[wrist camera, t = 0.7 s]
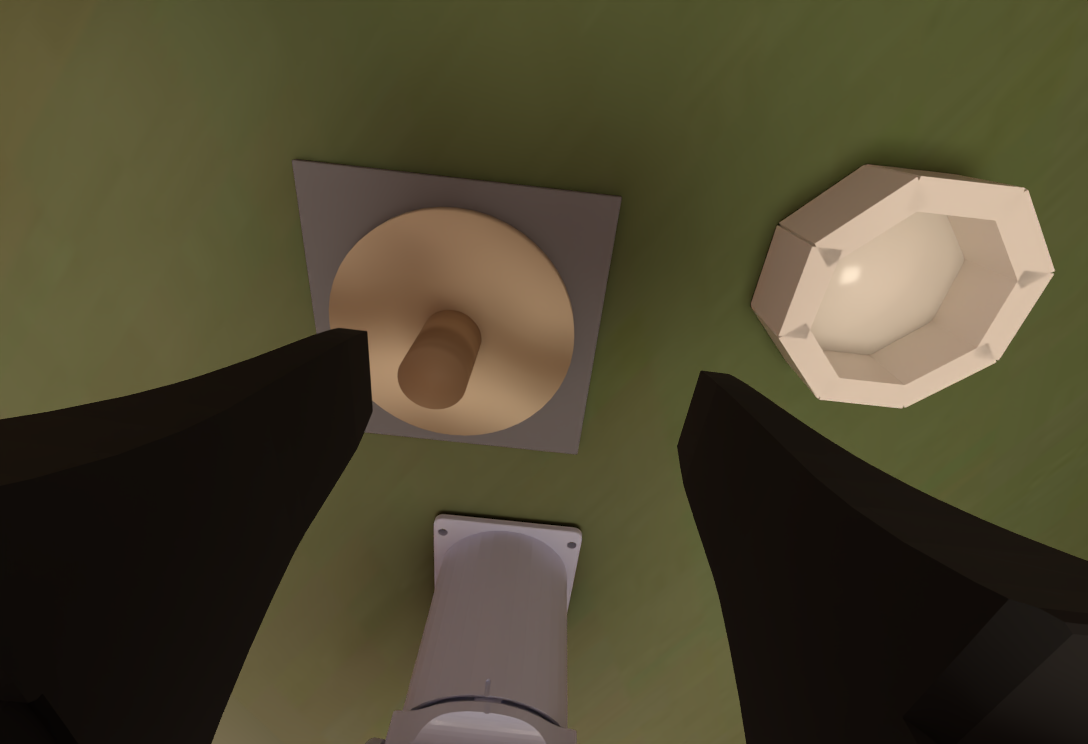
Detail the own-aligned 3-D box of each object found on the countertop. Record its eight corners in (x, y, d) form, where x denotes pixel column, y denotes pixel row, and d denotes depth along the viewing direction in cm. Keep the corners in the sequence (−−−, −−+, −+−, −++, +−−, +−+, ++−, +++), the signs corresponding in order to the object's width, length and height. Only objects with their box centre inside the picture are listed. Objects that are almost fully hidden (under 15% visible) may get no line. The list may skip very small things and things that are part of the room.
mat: (577, 450, 24) (577, 454, 24) (332, 425, 24) (330, 428, 23) (620, 196, 18) (621, 197, 18) (295, 159, 18) (291, 160, 18)
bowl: (914, 375, 21) (963, 415, 19) (733, 356, 21) (757, 392, 18) (1022, 182, 17) (1103, 197, 15) (799, 156, 17) (842, 166, 14)
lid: (559, 435, 23) (558, 500, 19) (349, 413, 23) (307, 475, 19) (590, 222, 18) (597, 254, 14) (322, 192, 18) (259, 217, 14)
